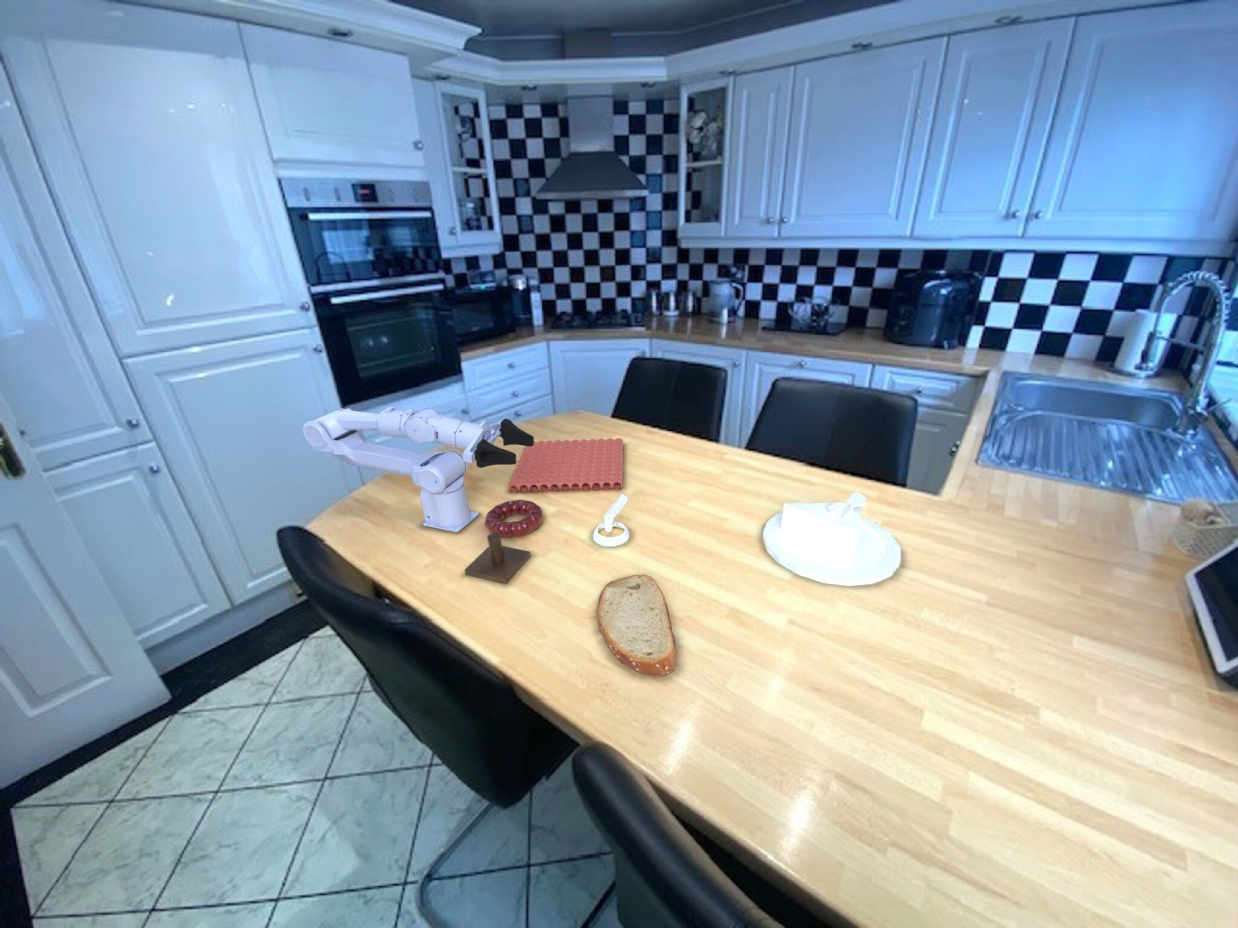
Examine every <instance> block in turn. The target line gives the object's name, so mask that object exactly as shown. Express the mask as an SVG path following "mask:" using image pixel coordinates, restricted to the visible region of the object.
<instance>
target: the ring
mask: <svg viewBox="0 0 1238 928" xmlns="http://www.w3.org/2000/svg"><path fill="white" fill-rule="evenodd" d="M514 515H523V516H526V517H524V518H522V519H519V520H514V521H504V520H503V519H505V518H507V517H511V516H514ZM543 521H544V510H543V508H542V507H541V506H540V505H538V504H537V503H536V502H534V501H530V500H524V499H516V500H508V501H504V502H502V503H499V504H496V505H494V507H492V508H491V509H490V510H488V512H487V513H486V515H485V520H484V527H485V528H486V529H487V531H489V533H490V534H492V533H499V534H500V535H501V538H516V537H522V536H524V535H527V534H529V533H532V532H534V531H535V530H536V529H537V528H539V526H540V525H541V524H542V523H543Z"/></svg>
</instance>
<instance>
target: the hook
mask: <svg viewBox="0 0 1238 928" xmlns="http://www.w3.org/2000/svg"><path fill="white" fill-rule="evenodd" d="M628 503H629V497H628V496H627V495H626V494H624V493H622V494H621V495H619V497H618V498H617V499H616V500H615V501H614V503H613V504H612V505H611V506H610V508H609V509H608V510H607V511H606V512H605V514H604V515H603V522H602V523H600V524H598V525H597V526H596V528H595V529H594V531H593V534H592V539H593V541H594V542H595V543H596V544H598V545H599V546H601V547H618V546H620V545H624V544H625V543H626V542H628V540H629V539H630V535H631V533H630V532H629V529H628V527H627V526H626V525H625V524H624V523H622V522H619V521H615V517H616V516H617V515H619V513H620V512H621V511H622V510H623V508H624V507H626V505H627V504H628ZM613 528H620V529H622V530H624V531H623V532H622V533H621V534H619V535H616V536H604V535H602V534H600V533H599V531H601V530H603V529H604V532H605V533H611V532H613Z"/></svg>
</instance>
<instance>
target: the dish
mask: <svg viewBox="0 0 1238 928" xmlns="http://www.w3.org/2000/svg"><path fill="white" fill-rule="evenodd" d="M866 505H867V498H866V497H865V496H864V494H862V493H860V492H852V493H850V495H849V497H848V499H847V501H846V502H845V501H836V502H835V501H834V502H784V503H783V507H782V511H781V512H778V513H776V514H775V515H773V517H771V518H770V519H768V520H767V521H766V523H765V526H764V528H763V532H762V540H763V541H762V542H763V544H764V546H765V550H766V552H767V553H768V554H769V555H770V556H771V557H772V558H773V560H775V561H776V563H777V564H779V565H781V566H782V567H783V568H786V569H788V570H790V571H791V572H792V573H795V574H796V575H798V576H801V577H803V578H807V579H811V580H813V581H816V582H819V583H822V584H829V585H838V586H845V587H854V586H865V585H874V584H877V583H880V582H881V581H883V580H886V579H888V578H891V577H892V576H893V574H894V573H895V572H896V570H897V569H898V568H899V567H900V565H901V561H902V553H901V546H900V544H899V543H898V542H897V540H896V539H895V537H894V536H893V534H892V533H891V532H890V531H888V530H886V529H885V528H884V527H882V526H881V525H879V524H878V523H877V522H875V521H872V520H870V519H868V518H866V517H863V516H862V507H866Z"/></svg>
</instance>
